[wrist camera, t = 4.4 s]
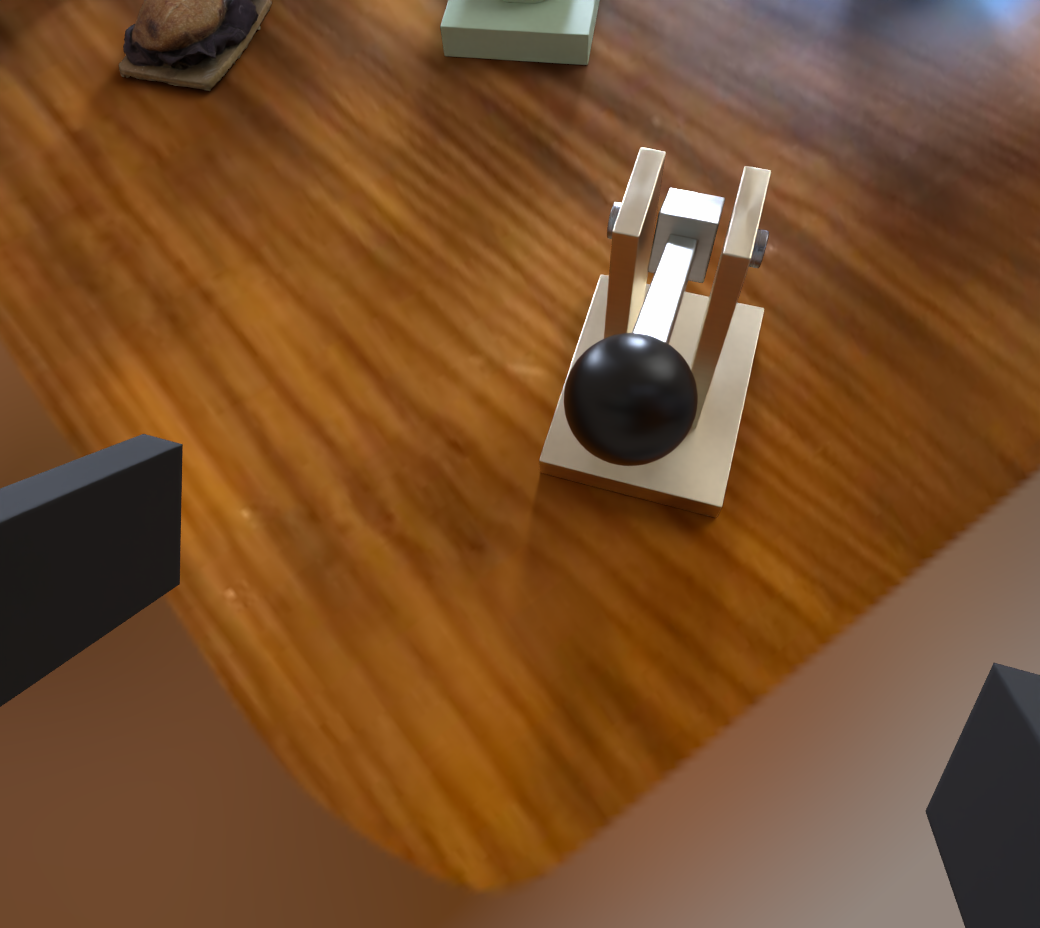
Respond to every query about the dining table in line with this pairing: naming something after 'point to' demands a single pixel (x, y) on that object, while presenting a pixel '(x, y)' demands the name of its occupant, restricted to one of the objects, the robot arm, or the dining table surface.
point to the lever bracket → (696, 336)
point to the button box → (520, 30)
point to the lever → (647, 350)
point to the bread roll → (190, 39)
